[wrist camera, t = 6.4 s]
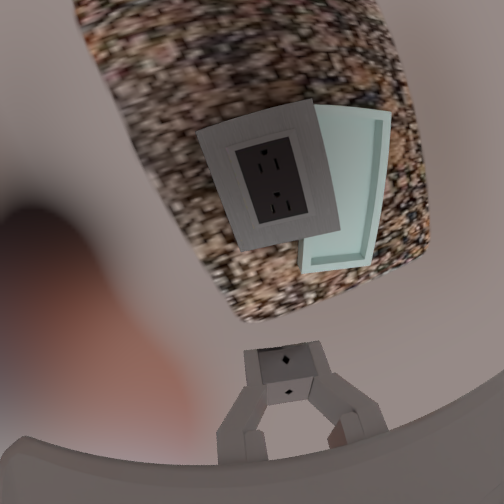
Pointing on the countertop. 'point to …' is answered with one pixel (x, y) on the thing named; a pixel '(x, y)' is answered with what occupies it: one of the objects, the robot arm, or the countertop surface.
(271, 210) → the electrical outlet
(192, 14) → the countertop surface
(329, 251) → the parts tray
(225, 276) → the countertop surface
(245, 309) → the countertop surface
